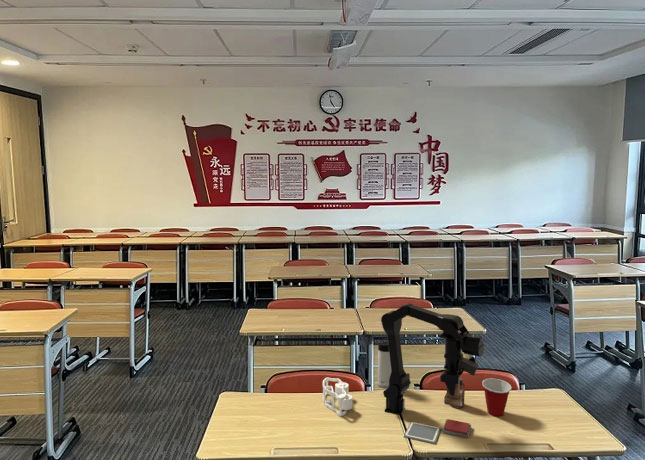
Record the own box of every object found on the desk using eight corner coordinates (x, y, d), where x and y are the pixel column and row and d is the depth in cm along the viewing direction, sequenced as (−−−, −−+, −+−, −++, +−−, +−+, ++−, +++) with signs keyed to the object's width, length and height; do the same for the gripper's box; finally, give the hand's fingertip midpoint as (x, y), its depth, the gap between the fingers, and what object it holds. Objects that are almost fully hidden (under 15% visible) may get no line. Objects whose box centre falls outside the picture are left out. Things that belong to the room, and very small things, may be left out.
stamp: (444, 404, 166) (444, 380, 165) (446, 398, 170) (446, 374, 170) (459, 406, 163) (460, 382, 163) (462, 400, 168) (462, 376, 168)
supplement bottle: (465, 409, 182) (465, 382, 182) (449, 408, 184) (450, 380, 183) (463, 402, 188) (464, 376, 187) (448, 401, 190) (449, 374, 189)
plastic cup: (487, 420, 173) (487, 390, 172) (477, 407, 184) (477, 378, 183) (515, 420, 174) (516, 390, 173) (504, 407, 184) (505, 378, 183)
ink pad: (442, 432, 165) (442, 428, 165) (446, 422, 172) (446, 418, 172) (468, 438, 161) (468, 433, 161) (471, 427, 168) (471, 423, 168)
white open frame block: (354, 415, 178) (354, 397, 177) (325, 416, 177) (325, 398, 177) (347, 393, 198) (347, 376, 197) (321, 394, 197) (321, 377, 196)
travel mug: (383, 390, 200) (383, 345, 198) (375, 384, 206) (375, 341, 204) (395, 387, 203) (395, 343, 201) (386, 381, 209) (386, 339, 207)
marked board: (403, 437, 162) (403, 435, 162) (411, 422, 172) (411, 421, 172) (435, 444, 158) (435, 442, 158) (440, 429, 168) (440, 427, 167)
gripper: (473, 362, 154) (473, 407, 155) (479, 345, 171) (479, 386, 172) (439, 358, 158) (439, 402, 159) (448, 342, 175) (448, 382, 176)
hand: (453, 393), depth 167 cm, fingers closed on stamp, 4 cm apart
